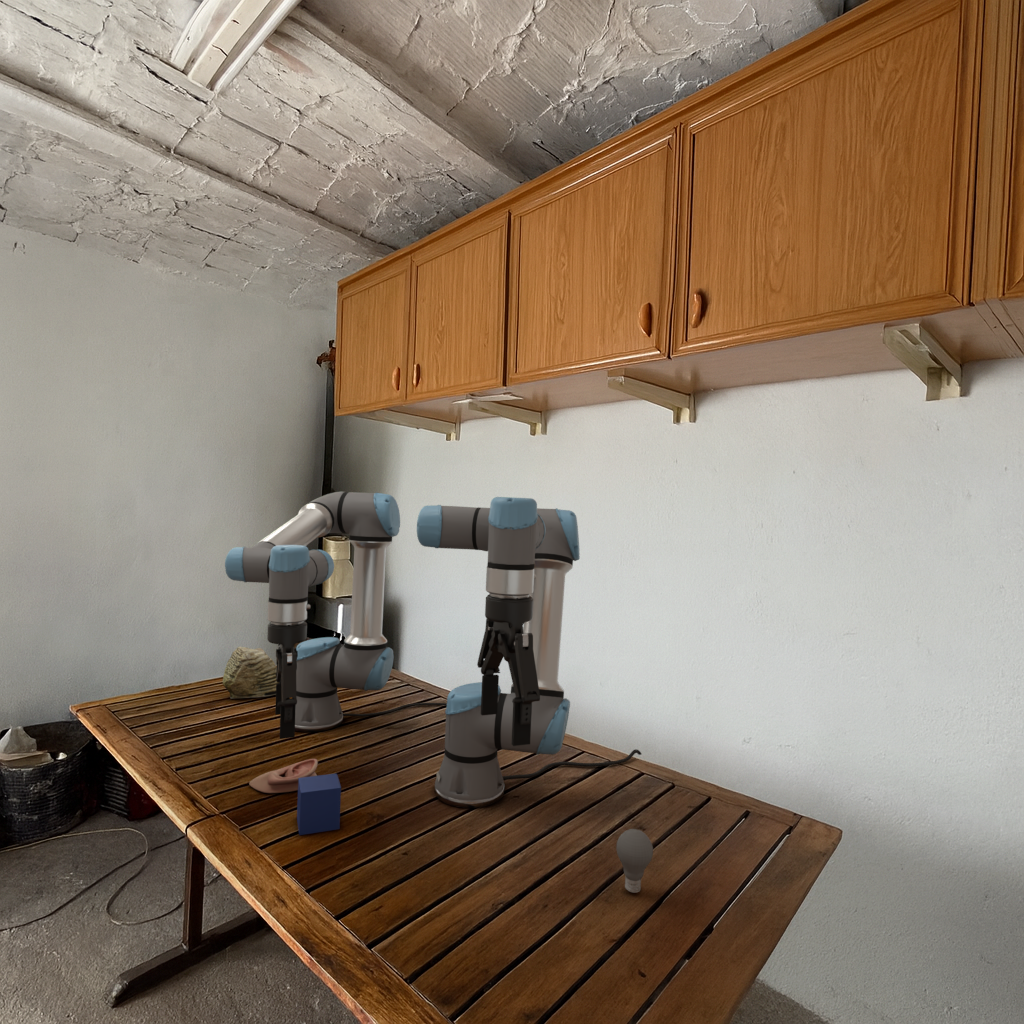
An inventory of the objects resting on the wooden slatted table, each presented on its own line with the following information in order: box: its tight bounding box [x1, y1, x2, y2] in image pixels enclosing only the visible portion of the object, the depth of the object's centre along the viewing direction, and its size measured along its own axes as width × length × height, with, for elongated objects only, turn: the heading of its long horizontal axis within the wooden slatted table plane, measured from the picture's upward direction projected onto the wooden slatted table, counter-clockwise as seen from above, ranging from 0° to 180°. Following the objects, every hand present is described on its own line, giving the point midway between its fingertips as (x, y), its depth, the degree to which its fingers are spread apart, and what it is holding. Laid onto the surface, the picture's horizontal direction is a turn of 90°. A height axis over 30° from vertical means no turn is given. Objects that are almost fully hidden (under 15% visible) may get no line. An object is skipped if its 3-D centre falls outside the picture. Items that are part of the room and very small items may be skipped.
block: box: [296, 773, 342, 836], centre depth 123 cm, size 7×7×8 cm
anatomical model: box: [248, 758, 319, 794], centre depth 139 cm, size 13×4×12 cm
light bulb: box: [615, 828, 654, 894], centre depth 106 cm, size 6×6×10 cm
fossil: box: [222, 646, 279, 699], centre depth 198 cm, size 9×18×15 cm, turn 132°
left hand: (284, 725), depth 129 cm, fingers open, 13 cm apart
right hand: (503, 728), depth 100 cm, fingers open, 13 cm apart
